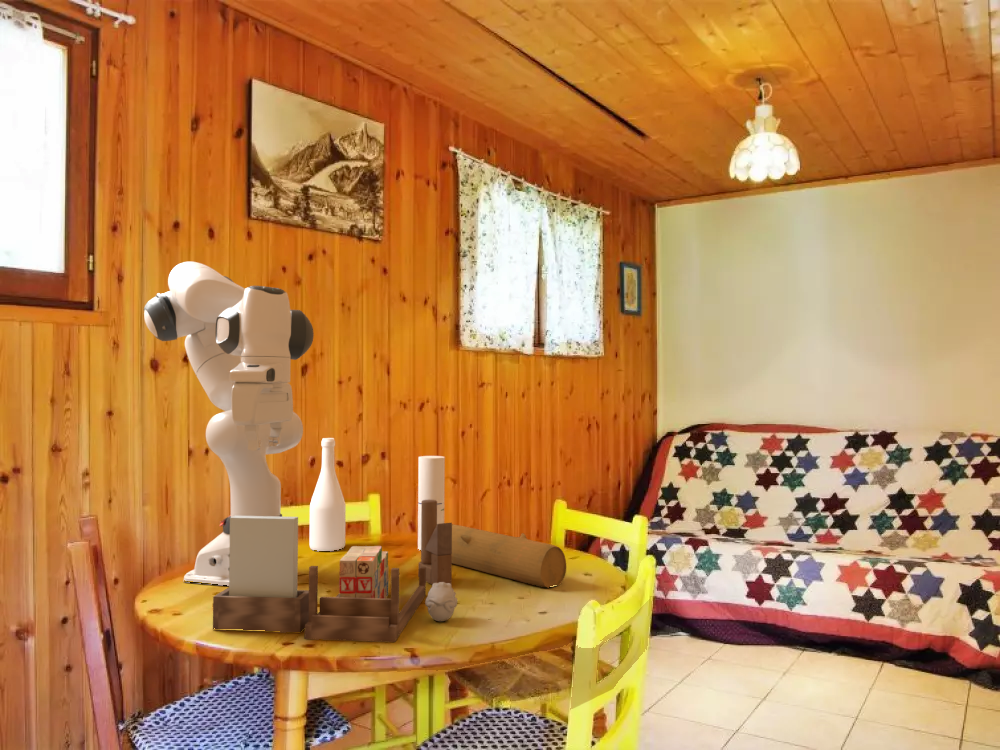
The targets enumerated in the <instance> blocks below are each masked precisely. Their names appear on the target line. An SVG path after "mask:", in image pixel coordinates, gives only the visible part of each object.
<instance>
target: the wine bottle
mask: <svg viewBox="0 0 1000 750" xmlns="http://www.w3.org/2000/svg"><path fill="white" fill-rule="evenodd" d="M320 445H321V448H322V450H321V469H320V473H319V476H318V479H317V482H316V485H315V488H314V491H313V494H312V496H311V501H310V504H309V536H308V537H309V542H308V543H309V548H310V550H312V551H314V550H317V551H316V552H319V551H330V552H335V551H334V550H337V551H340V550H339V549H341V550H343V549H344V547H345V546H346V511H347V510H346V502H345V498H344V495H343V491H342V488H341V485H340V483H339V480H338V477H337V472H336V468H335V447H336V440H335V438H334V437H323V438H322V440H321V444H320ZM342 548H343V549H342Z"/></svg>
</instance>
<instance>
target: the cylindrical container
mask: <svg viewBox="0 0 1000 750" xmlns="http://www.w3.org/2000/svg"><path fill="white" fill-rule="evenodd" d="M445 459H446V457H445V456H442V455H423V456H422V455H420V456H418V469H417V470H418V472H417V473H418V479H417V480H418V486H417V490H418V491H417V494H418V495H417V497H418V498H417V502H418V503H417V505H418V506H417V510H418V511H417V550H418V549H419V550H418V551H420V550H421V513H422V501H423V500H436V501H437V524H441V523H445V481H446V480H445V479H446V477H445V471H446V470H445V469H446V468H445V467H446V466H445V462H446V461H445Z"/></svg>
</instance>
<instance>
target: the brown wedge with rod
mask: <svg viewBox="0 0 1000 750" xmlns="http://www.w3.org/2000/svg"><path fill="white" fill-rule="evenodd" d="M452 524H453V523H452V522H444V523H441V524H437V501H436V500H423V501H422V513H421V551H420V552H421V554H420V561H419V562H418V569H419V568H420V567H426V583H428V584H431V586H432V585H433V584H434V583H439V582H445V583H450V584H451V585H452V570H453V569H452V567H453V566H452V555H451V554H452Z"/></svg>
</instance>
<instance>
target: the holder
mask: <svg viewBox="0 0 1000 750" xmlns="http://www.w3.org/2000/svg"><path fill="white" fill-rule="evenodd" d="M308 622H309V589H308V590H307V589H305V590H303V589H297V598H282V597H248V596H229V587H227V588H226V589H224V590H222V591H220V592H218V593H217V594H216V595H213V596H212V630H213V629H214V628H215V629H243V630H265V631H280V632H279V633H286V632H301V631H302V630H303V629H304V628H305V625H306V624H307V623H308ZM304 630H305V629H304ZM304 630H303V631H304ZM303 631H302V632H303ZM302 632H301V633H302Z"/></svg>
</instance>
